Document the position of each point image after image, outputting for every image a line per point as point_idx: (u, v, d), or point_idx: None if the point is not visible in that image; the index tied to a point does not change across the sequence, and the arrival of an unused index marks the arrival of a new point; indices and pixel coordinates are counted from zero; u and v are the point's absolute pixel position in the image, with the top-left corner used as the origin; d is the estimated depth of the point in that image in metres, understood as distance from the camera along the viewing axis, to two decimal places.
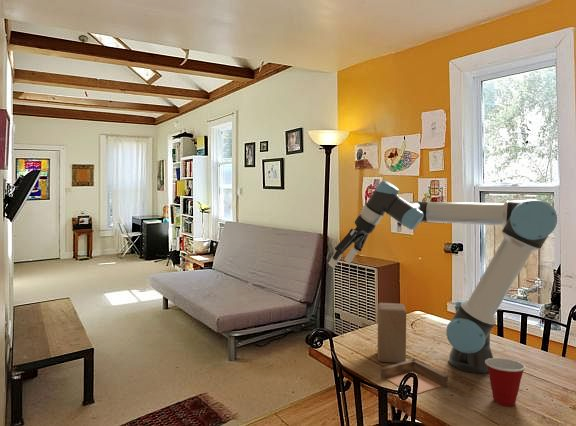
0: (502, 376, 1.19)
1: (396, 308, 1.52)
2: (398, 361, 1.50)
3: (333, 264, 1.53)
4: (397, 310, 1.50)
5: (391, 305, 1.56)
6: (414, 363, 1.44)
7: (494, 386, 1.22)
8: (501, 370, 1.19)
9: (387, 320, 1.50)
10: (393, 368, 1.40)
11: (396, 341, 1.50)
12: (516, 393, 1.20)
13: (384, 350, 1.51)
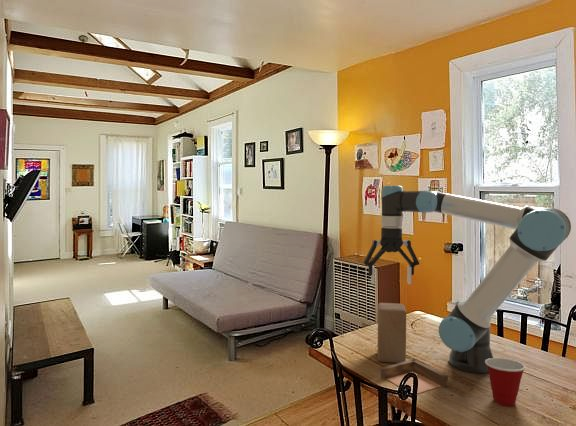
0: (502, 376, 1.19)
1: (396, 308, 1.52)
2: (398, 361, 1.50)
3: (372, 280, 1.53)
4: (397, 310, 1.50)
5: (391, 305, 1.56)
6: (414, 363, 1.44)
7: (494, 386, 1.22)
8: (501, 370, 1.19)
9: (387, 320, 1.50)
10: (393, 368, 1.40)
11: (396, 341, 1.50)
12: (516, 393, 1.20)
13: (384, 350, 1.51)
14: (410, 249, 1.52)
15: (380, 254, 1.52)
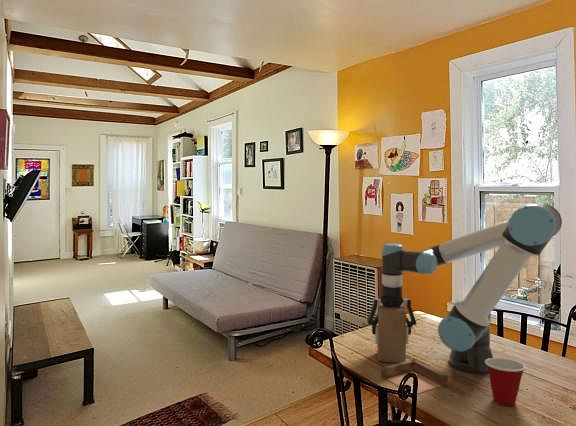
0: (502, 376, 1.19)
1: (396, 308, 1.52)
2: (398, 361, 1.50)
3: (375, 340, 1.55)
4: (397, 310, 1.50)
5: None
6: (414, 363, 1.44)
7: (494, 386, 1.22)
8: (501, 370, 1.19)
9: (387, 319, 1.50)
10: (393, 368, 1.40)
11: (396, 341, 1.50)
12: (516, 393, 1.20)
13: (384, 350, 1.51)
14: (409, 308, 1.53)
15: None
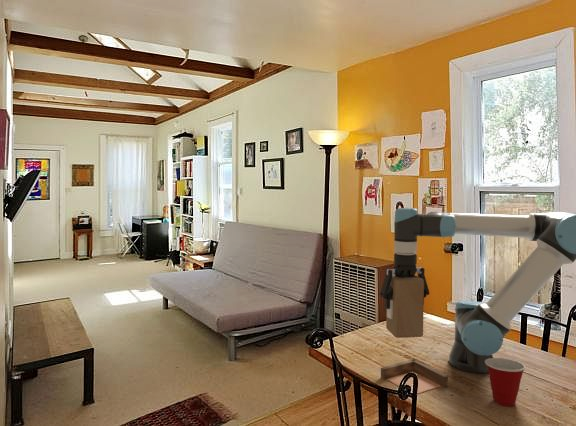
0: (502, 376, 1.19)
1: (412, 277, 1.39)
2: (416, 335, 1.38)
3: (389, 315, 1.40)
4: (415, 279, 1.37)
5: None
6: (414, 363, 1.44)
7: (494, 386, 1.22)
8: (501, 370, 1.19)
9: (405, 291, 1.36)
10: (393, 368, 1.40)
11: (415, 314, 1.37)
12: (516, 393, 1.20)
13: (402, 325, 1.37)
14: (423, 277, 1.42)
15: None
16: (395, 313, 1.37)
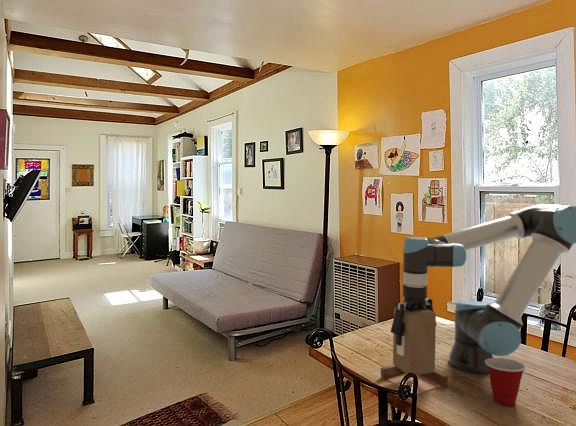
0: (502, 376, 1.19)
1: (423, 310, 1.32)
2: (429, 371, 1.31)
3: (401, 351, 1.31)
4: (428, 313, 1.30)
5: None
6: None
7: (494, 386, 1.22)
8: (501, 370, 1.19)
9: (419, 326, 1.29)
10: (393, 368, 1.40)
11: (427, 349, 1.31)
12: (516, 393, 1.20)
13: (416, 362, 1.29)
14: (431, 309, 1.36)
15: None
16: (409, 350, 1.29)
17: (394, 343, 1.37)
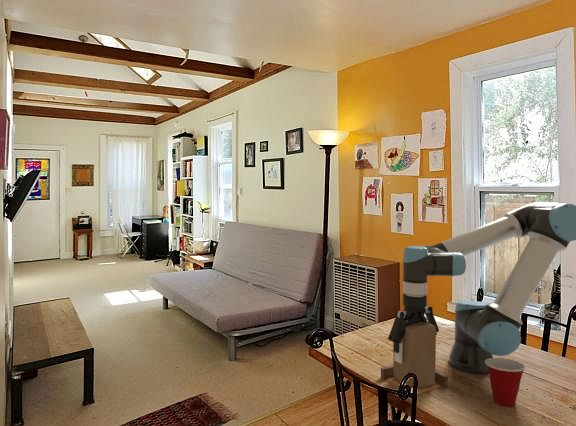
0: (502, 376, 1.19)
1: (423, 324, 1.32)
2: (429, 384, 1.32)
3: (399, 359, 1.31)
4: (428, 326, 1.31)
5: None
6: None
7: (494, 386, 1.22)
8: (501, 370, 1.19)
9: (419, 339, 1.29)
10: None
11: (428, 362, 1.31)
12: (516, 393, 1.20)
13: None
14: (432, 316, 1.36)
15: None
16: (409, 364, 1.29)
17: (394, 356, 1.37)
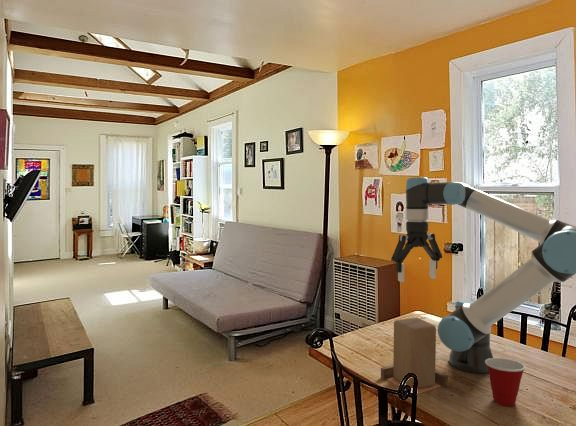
0: (502, 376, 1.19)
1: (423, 324, 1.32)
2: (429, 384, 1.32)
3: (401, 278, 1.45)
4: (428, 326, 1.31)
5: (411, 321, 1.36)
6: None
7: (494, 386, 1.22)
8: (501, 370, 1.19)
9: (419, 339, 1.29)
10: None
11: (428, 362, 1.31)
12: (516, 393, 1.20)
13: None
14: (434, 242, 1.48)
15: (409, 249, 1.45)
16: (409, 364, 1.29)
17: (394, 356, 1.37)
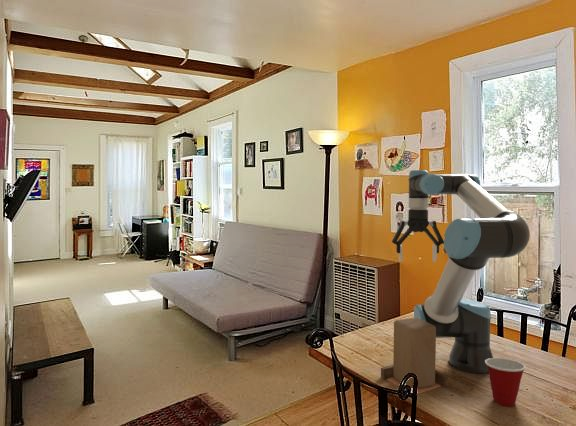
0: (502, 376, 1.19)
1: (423, 324, 1.32)
2: (429, 384, 1.32)
3: (400, 258, 1.66)
4: (428, 326, 1.31)
5: (411, 321, 1.36)
6: None
7: (494, 386, 1.22)
8: (501, 370, 1.19)
9: (419, 339, 1.29)
10: None
11: (428, 362, 1.31)
12: (516, 393, 1.20)
13: None
14: (435, 229, 1.64)
15: (407, 234, 1.64)
16: (409, 364, 1.29)
17: (394, 356, 1.37)
